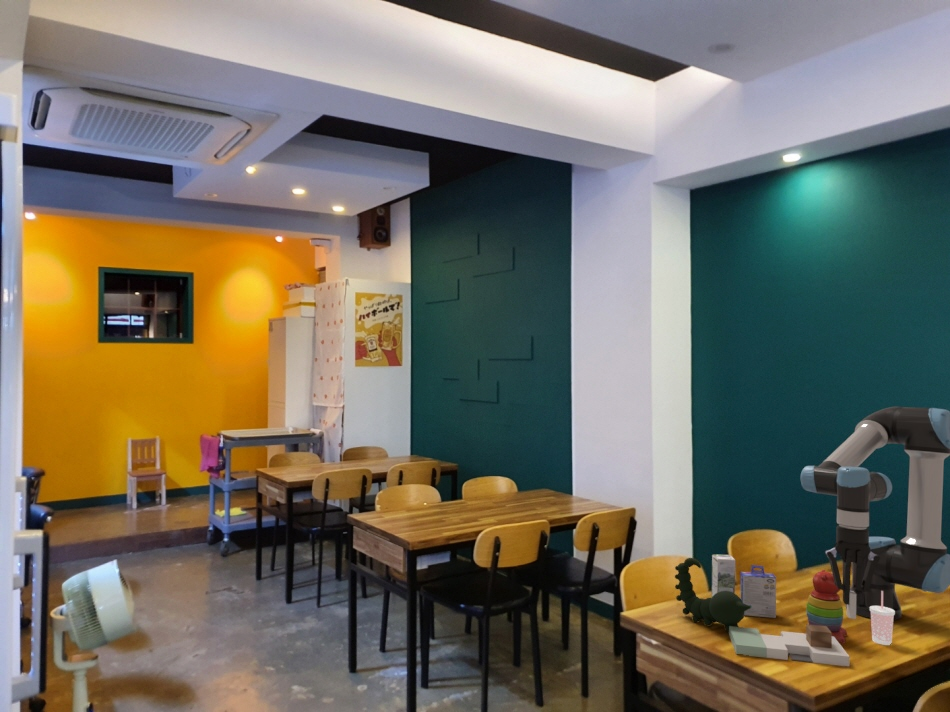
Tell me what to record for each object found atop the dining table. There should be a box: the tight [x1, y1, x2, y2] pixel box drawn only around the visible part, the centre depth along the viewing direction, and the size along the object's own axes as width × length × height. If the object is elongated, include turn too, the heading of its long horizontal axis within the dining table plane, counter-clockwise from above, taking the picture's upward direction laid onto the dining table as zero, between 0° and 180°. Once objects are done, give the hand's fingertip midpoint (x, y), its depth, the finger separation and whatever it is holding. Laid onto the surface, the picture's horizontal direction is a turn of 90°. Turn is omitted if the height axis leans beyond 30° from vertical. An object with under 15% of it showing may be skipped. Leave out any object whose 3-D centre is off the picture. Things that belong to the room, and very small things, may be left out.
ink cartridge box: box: [740, 564, 777, 619], centre depth 212 cm, size 10×6×14 cm, turn 78°
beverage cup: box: [869, 591, 895, 646], centre depth 192 cm, size 6×6×14 cm
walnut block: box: [805, 623, 832, 648], centre depth 182 cm, size 5×5×4 cm
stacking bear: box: [805, 569, 848, 645], centre depth 196 cm, size 11×10×18 cm
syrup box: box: [710, 554, 736, 598], centre depth 224 cm, size 6×6×14 cm
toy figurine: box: [674, 557, 750, 634], centre depth 202 cm, size 9×19×25 cm
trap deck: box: [728, 626, 850, 667], centre depth 184 cm, size 27×14×2 cm, turn 77°
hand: (851, 617), depth 180 cm, fingers closed
